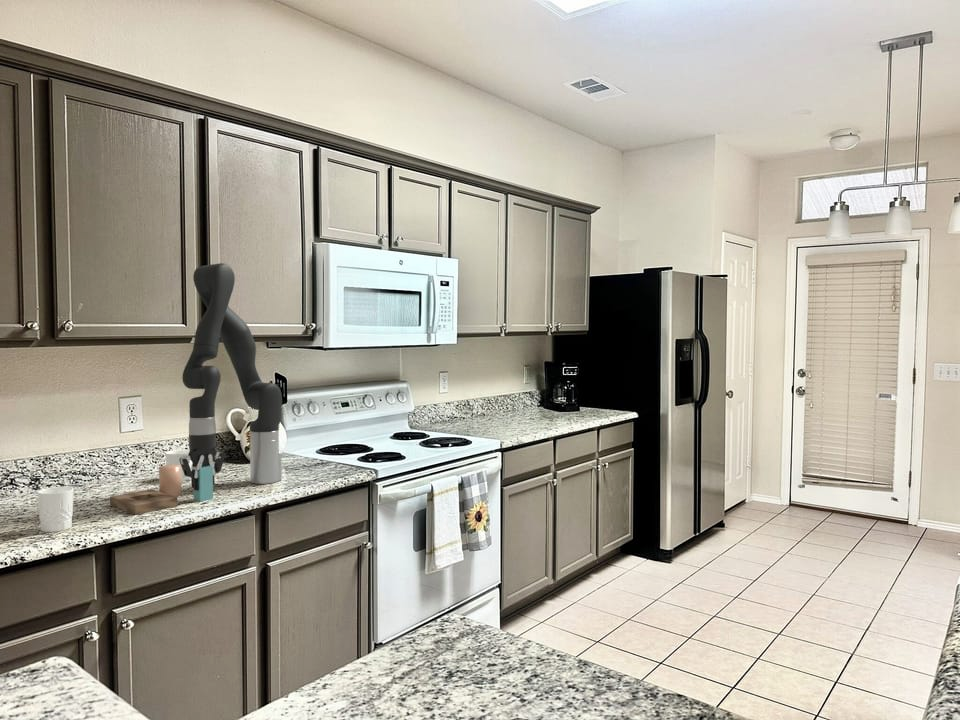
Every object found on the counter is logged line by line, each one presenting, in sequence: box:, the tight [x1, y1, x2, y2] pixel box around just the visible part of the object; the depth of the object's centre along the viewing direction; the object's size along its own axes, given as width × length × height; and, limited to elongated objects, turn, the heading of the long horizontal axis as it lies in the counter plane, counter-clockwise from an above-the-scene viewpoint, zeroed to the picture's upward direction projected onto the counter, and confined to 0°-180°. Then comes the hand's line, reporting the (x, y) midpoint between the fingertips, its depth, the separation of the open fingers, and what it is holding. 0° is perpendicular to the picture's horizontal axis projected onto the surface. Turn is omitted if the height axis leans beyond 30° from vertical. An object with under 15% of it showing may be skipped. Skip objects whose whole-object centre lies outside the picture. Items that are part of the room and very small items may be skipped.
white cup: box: [36, 486, 74, 533], centre depth 176 cm, size 8×8×10 cm
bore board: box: [109, 489, 179, 516], centre depth 200 cm, size 12×16×2 cm
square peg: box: [192, 465, 214, 502], centre depth 208 cm, size 4×4×10 cm
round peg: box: [158, 464, 183, 497], centre depth 212 cm, size 6×6×9 cm
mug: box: [165, 449, 192, 482], centre depth 235 cm, size 12×9×9 cm
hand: (203, 488), depth 208 cm, fingers closed on square peg, 4 cm apart
